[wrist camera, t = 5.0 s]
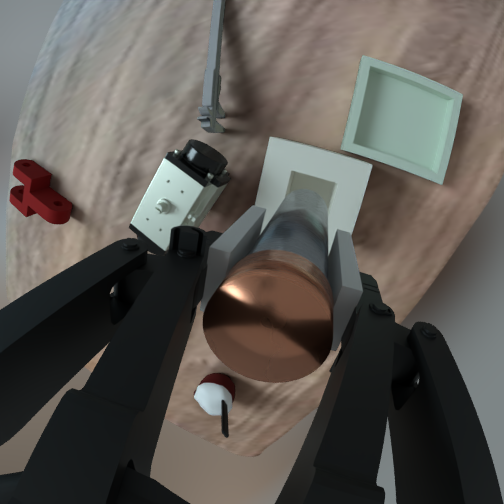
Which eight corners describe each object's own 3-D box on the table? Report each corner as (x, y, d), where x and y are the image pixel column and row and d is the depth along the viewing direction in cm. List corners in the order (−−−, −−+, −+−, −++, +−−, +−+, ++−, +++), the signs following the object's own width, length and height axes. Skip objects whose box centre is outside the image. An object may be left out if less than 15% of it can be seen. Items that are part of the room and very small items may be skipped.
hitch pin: (284, 180, 22) (212, 258, 8) (336, 194, 21) (353, 299, 8) (272, 229, 24) (197, 360, 10) (322, 244, 23) (308, 394, 9)
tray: (360, 60, 27) (362, 55, 25) (454, 96, 26) (462, 94, 23) (340, 149, 32) (341, 149, 29) (434, 181, 30) (442, 185, 28)
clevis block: (279, 137, 33) (270, 136, 27) (364, 160, 31) (372, 165, 26) (260, 218, 37) (248, 233, 31) (340, 241, 35) (342, 260, 30)
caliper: (226, 132, 34) (207, 131, 29) (217, 133, 34) (197, 132, 29) (226, -12, 27) (209, -33, 21) (217, -11, 27) (199, -31, 22)
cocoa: (201, 386, 51) (173, 436, 40) (197, 362, 48) (164, 413, 38) (252, 398, 48) (230, 453, 38) (251, 373, 46) (227, 432, 35)
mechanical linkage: (24, 191, 45) (5, 197, 41) (29, 157, 43) (9, 162, 38) (72, 230, 45) (52, 240, 41) (80, 193, 42) (59, 200, 38)
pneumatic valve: (171, 212, 39) (117, 241, 28) (217, 137, 34) (169, 138, 24) (203, 237, 39) (158, 276, 29) (254, 163, 35) (220, 175, 24)
